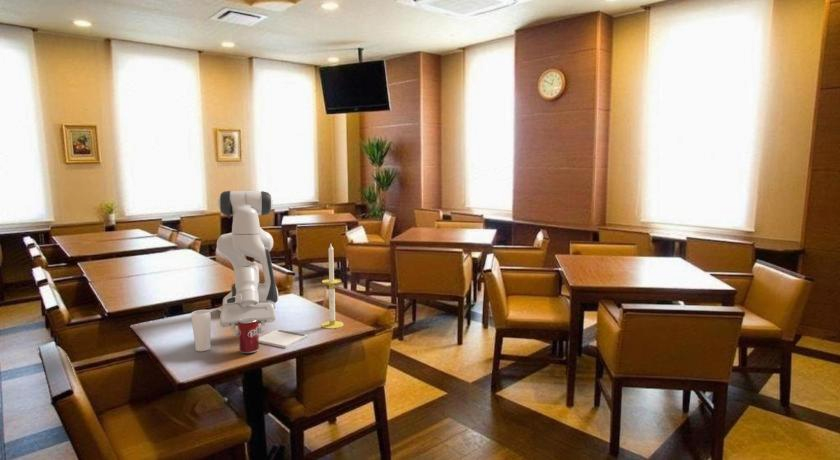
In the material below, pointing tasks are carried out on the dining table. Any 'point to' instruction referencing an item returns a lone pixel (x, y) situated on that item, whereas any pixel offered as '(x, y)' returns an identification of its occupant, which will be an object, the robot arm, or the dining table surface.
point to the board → (282, 338)
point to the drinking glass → (201, 329)
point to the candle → (331, 294)
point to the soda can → (248, 335)
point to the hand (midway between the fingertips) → (248, 334)
